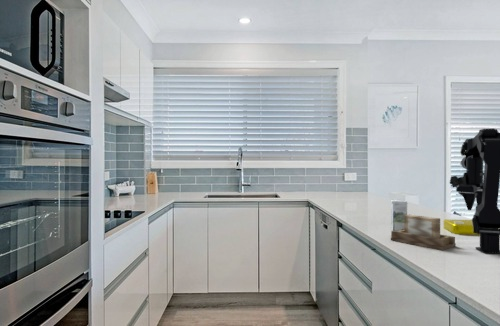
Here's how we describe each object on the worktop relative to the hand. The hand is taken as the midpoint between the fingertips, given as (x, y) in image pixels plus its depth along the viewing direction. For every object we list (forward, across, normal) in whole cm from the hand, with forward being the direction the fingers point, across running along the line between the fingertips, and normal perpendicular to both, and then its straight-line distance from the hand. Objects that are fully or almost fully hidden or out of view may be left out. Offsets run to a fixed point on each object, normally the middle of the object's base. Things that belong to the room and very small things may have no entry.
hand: (474, 209), depth 143 cm
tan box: (+11, +23, -9) cm, 27 cm away
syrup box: (+12, +14, -24) cm, 30 cm away
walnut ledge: (+12, +23, -9) cm, 28 cm away
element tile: (+13, -14, -9) cm, 21 cm away
